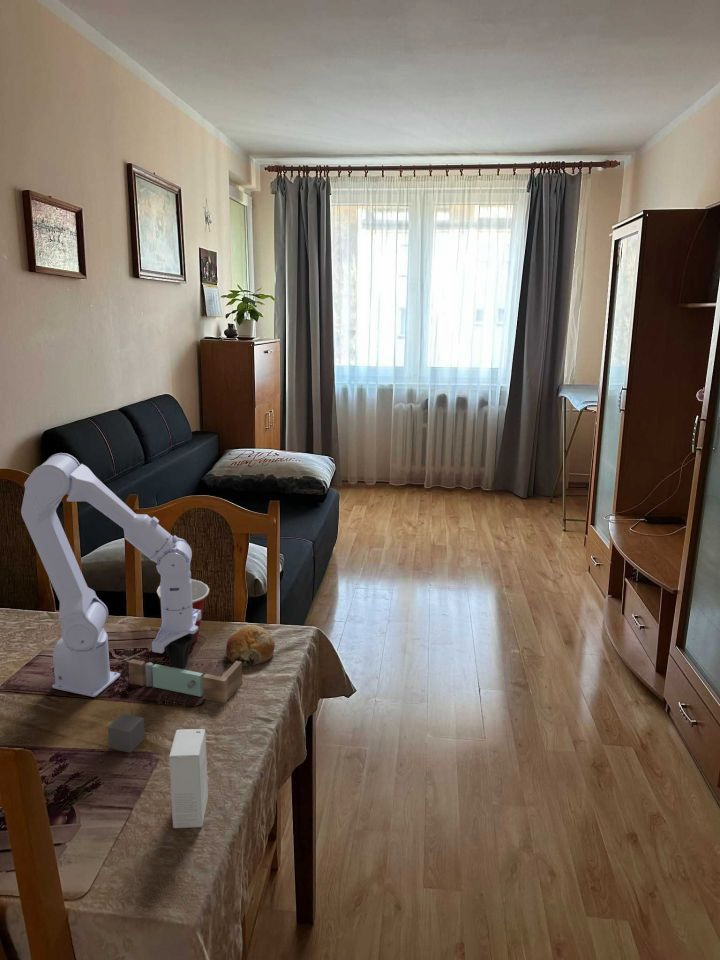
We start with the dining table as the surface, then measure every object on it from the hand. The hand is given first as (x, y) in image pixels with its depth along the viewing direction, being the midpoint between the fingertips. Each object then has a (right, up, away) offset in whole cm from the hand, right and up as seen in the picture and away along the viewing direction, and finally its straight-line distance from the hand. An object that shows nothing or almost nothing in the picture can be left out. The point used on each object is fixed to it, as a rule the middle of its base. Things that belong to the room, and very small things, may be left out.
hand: (179, 668), depth 130 cm
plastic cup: (-3, +2, +15) cm, 16 cm away
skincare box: (+11, -12, -33) cm, 37 cm away
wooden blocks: (+2, -3, -1) cm, 3 cm away
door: (0, -3, -4) cm, 5 cm away
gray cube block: (-4, -7, -19) cm, 20 cm away
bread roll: (+12, 0, +10) cm, 16 cm away
